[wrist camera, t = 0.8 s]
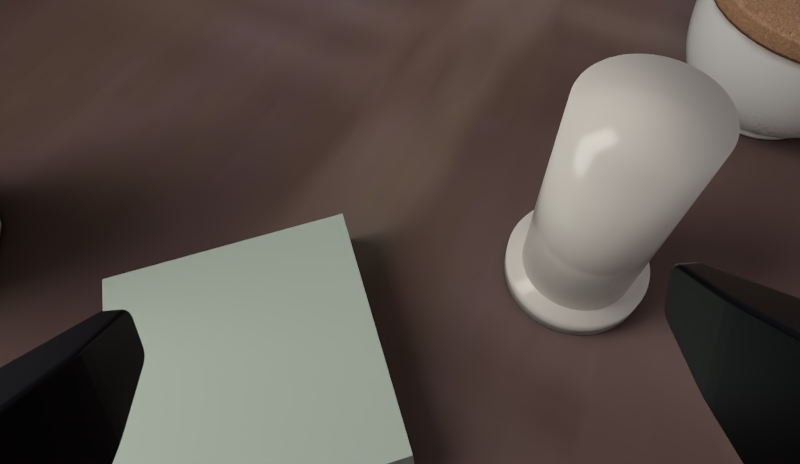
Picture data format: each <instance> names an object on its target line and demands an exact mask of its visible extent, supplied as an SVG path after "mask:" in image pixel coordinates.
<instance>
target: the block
mask: <svg viewBox="0 0 800 464" xmlns="http://www.w3.org/2000/svg"><path fill="white" fill-rule="evenodd" d="M102 299H103V311H109V310H126V311H128V312H129V313H130V314H131V315H132V317H133V320H134V323H135V325H136V328H137V331H138V334H139V337H140V339H141V342H142V345H143V348H144V353H145V359H144V365H143V368H142V372H141V375H140V379H139V382H138V386H137V389H136V392H135V396H134V399H133V403H132V406H131V410H130V413H129V416H128V420H127V423H126V427H125V430H124V433H123V436H122V439H121V443H120V445H119V448H118V451H117V453H116V456H115V458H114V461H113V463H112V464H414V459H413V454H412V450H411V447H410V443H409V440H408V437H407V433H406V430H405V426H404V423H403V419H402V416H401V413H400V409H399V406H398V402H397V399H396V395H395V392H394V389H393V385H392V382H391V378H390V375H389V371H388V368H387V365H386V361H385V358H384V354H383V351H382V347H381V344H380V341H379V337H378V334H377V330H376V327H375V323H374V320H373V317H372V313H371V310H370V306H369V303H368V299H367V296H366V293H365V289H364V286H363V282H362V279H361V275H360V272H359V269H358V265H357V262H356V258H355V255H354V251H353V248H352V245H351V241H350V238H349V234H348V231H347V227H346V224H345V221H344V217H343V214H339V215H335V216H332V217H328V218H324V219H321V220H317V221H314V222H310V223H306V224H303V225H299V226H295V227H292V228H288V229H284V230H281V231H277V232H273V233H270V234H266V235H262V236H259V237H255V238H251V239H248V240H244V241H240V242H237V243H233V244H229V245H226V246H222V247H218V248H215V249H211V250H208V251H204V252H200V253H197V254H193V255H189V256H186V257H182V258H178V259H175V260H171V261H167V262H164V263H160V264H156V265H153V266H149V267H145V268H142V269H138V270H134V271H131V272H127V273H123V274H120V275H116V276H113V277H109V278H105V279H102Z"/></svg>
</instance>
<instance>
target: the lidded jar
mask: <svg viewBox="0 0 800 464" xmlns="http://www.w3.org/2000/svg"><path fill="white" fill-rule="evenodd" d="M686 62H687V64H689V65H691V66H693V67H695V68H697V69H699V70H701V71H702V72H704V73H705V74H707V75H708V76H710V77H711V78H712V79H713V80H715V81H716V82H717V83H718V84H719V85H720V86H721V87H722V88H723V89H724V90H725V91H726V93H727V94H728V95H729V96H730V98H731V100H732V101H733V103H734V105H735V107H736V109H737V112H738V116H739V120H740V133H739V134H742V135H744V136H748V137H751V138H756V139H762V140H781V139H787V138H800V0H696V4H695V7H694V10H693V13H692V16H691V20H690V24H689V29H688V34H687V39H686Z"/></svg>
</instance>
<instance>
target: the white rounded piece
mask: <svg viewBox="0 0 800 464" xmlns="http://www.w3.org/2000/svg"><path fill="white" fill-rule="evenodd" d="M739 133H740V120H739V116H738V112H737V109H736V107H735V105H734V103H733V101H732V100H731V98H730V96H729V95H728V94H727V93H726V91H725V90H724V89H723V88H722V87H721V86H720V85H719V84H718V83H717V82H716V81H715V80H713V79H712V78H711V77H710V76H708V75H707V74H705V73H704V72H702V71H701V70H699V69H697V68H695V67H693V66H691V65H689V64H686V63H684V62H682V61H679V60H675V59H672V58H669V57H664V56H659V55H652V54H626V55H619V56H615V57H610V58H607V59H605V60H602V61H600V62H598V63H596V64H594V65H592V66H591V67H589V68H588V69H586V70H585V71H584V72H583V73H582V74H581V75H580V76H579V77H578V79H577V80H576V81H575V83H574V85H573V87H572V89H571V92H570V95H569V98H568V102H567V105H566V108H565V111H564V115H563V118H562V121H561V124H560V128H559V131H558V134H557V137H556V141H555V144H554V147H553V150H552V154H551V157H550V160H549V163H548V167H547V170H546V173H545V176H544V180H543V183H542V186H541V189H540V193H539V196H538V199H537V203H536V206H535V209H534V210H533V211H531V212H530V213H529V214H527V215H526V216H525V217H524V218H523V219H522V220H521V221H520V222H519V223H518V224H517V225H516V227H515V228H514V230H513V232H512V234H511V236H510V239H509V242H508V246H507V249H506V253H505V259H504V276H505V280H506V284H507V287H508V289H509V292H510V294H511V295H512V297H513V299H514V301H515V302H516V303H517V304H518V306H519V307H520V308H521V309H522V310H523V311H524V312H525V313H526V314H527V315H528V316H529V317H530V318H532V319H533V320H534V321H536V322H538V323H539V324H541V325H542V326H545V327H547V328H549V329H551V330H554V331H557V332H560V333H564V334H569V335H578V336H580V335H594V334H599V333H602V332H606V331H608V330H610V329H612V328H614V327H616V326H617V325H619V324H621V323H622V322H623V321H624V320H625V319H626V318H627V317H628V316H629V315H630V314H631V313H632V311H633V310H634V309H635V308H636V307H637V306H638V304H639V303H640V302H641V301H642V299H643V297H644V295H645V293H646V291H647V288H648V285H649V280H650V265H649V261H650V260H651V259H652V257H653V256H654V255H655V253H656V252H657V251H658V249H659V248H660V247H661V246H662V244H663V243H664V242H665V240H666V239H667V238H668V236H669V235H670V234H671V232H672V231H673V230H674V228H675V227H676V226H677V224H678V223H679V222H680V220H681V219H682V218H683V216H684V215H685V214H686V212H687V211H688V210H689V208H690V207H691V206H692V204H693V203H694V202H695V200H696V199H697V198H698V196H699V195H700V194H701V192H702V191H703V190H704V188H705V187H706V186H707V184H708V183H709V182H710V180H711V179H712V178H713V177H714V175H715V174H716V173H717V171H718V170H719V169H720V167H721V166H722V165H723V163H724V162H725V161H726V159H727V158H728V157H729V155H730V154H731V153H732V151H733V149H734V148H735V146H736V144H737V141H738V138H739Z"/></svg>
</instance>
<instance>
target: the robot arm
mask: <svg viewBox="0 0 800 464" xmlns="http://www.w3.org/2000/svg"><path fill="white" fill-rule="evenodd" d="M665 315H666V319H667V321H668V324H669V326H670V328H671V330H672V332H673V334H674V337H675V339H676V341H677V343H678V345H679V347H680V349H681V352H682V354H683V356H684V358H685V360H686V362H687V364H688V366H689V369H690V371H691V373H692V375H693V377H694V379H695V381H696V384H697V386H698V388H699V390H700V392H701V394H702V395H703V397H704V399H705V401H706V403H707V404H708V406H709V408H710V410H711V411H712V413H713V414H714V416H715V418H716V419H717V421H718V423H719V424H720V426H721V428H722V429H723V431H724V432H725V434H726V436H727V437H728V439H729V441H730V442H731V444H732V446H733V447H734V449H735V450H736V452H737V454H738V455H739V457H740V459H741V460H742V462H743V464H800V299H799V298H797V297H794V296H791V295H789V294H786V293H783V292H781V291H778V290H775V289H772V288H770V287H767V286H764V285H762V284H759V283H756V282H754V281H751V280H748V279H745V278H743V277H740V276H737V275H735V274H732V273H729V272H726V271H724V270H721V269H718V268H716V267H713V266H710V265H708V264H705V263H702V262H691V263H680V264H676V265H675V266H674V267H673V268H672V270H671V273H670V278H669V284H668V290H667V296H666V301H665ZM144 359H145V353H144V348H143V345H142V342H141V339H140V337H139V334H138V331H137V328H136V325H135V323H134V320H133V317H132V315H131V314H130V313H129V312H128V311H126V310H109V311H102V312H99V313H97V314H95V315H93V316H92V317H90V318H88V319H86V320H84V321H83V322H81V323H79V324H77V325H76V326H74V327H72V328H70V329H68V330H67V331H65V332H63V333H61V334H60V335H58V336H56V337H54V338H52V339H51V340H49V341H47V342H45V343H44V344H42V345H40V346H38V347H36V348H35V349H33V350H31V351H29V352H27V353H26V354H24V355H22V356H20V357H19V358H17V359H15V360H13V361H11V362H10V363H8V364H6V365H4V366H3V367H1V368H0V464H112V463H113V461H114V458H115V456H116V453H117V451H118V448H119V445H120V443H121V439H122V436H123V433H124V430H125V427H126V423H127V420H128V416H129V413H130V410H131V406H132V403H133V399H134V396H135V392H136V389H137V386H138V382H139V379H140V375H141V372H142V368H143V365H144Z"/></svg>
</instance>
